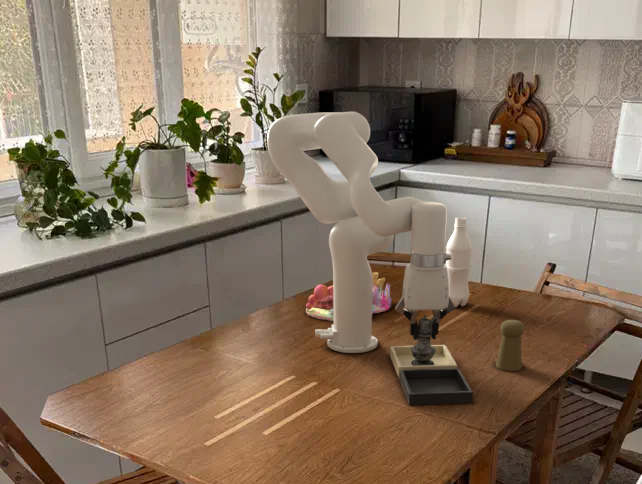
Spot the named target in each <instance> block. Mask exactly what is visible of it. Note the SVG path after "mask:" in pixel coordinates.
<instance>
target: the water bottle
mask: <svg viewBox="0 0 642 484" xmlns="http://www.w3.org/2000/svg"><path fill="white" fill-rule="evenodd" d="M454 219H455V221H454V225H453V227H454V229H453V232H452V234H451V236H450V237H449V239H448V241H447V244H446V245H445V250H446V251H445V253H447V254H451V260H447V261H446V262H445V264H446V265H447V270H448V280H449V297H450V299H451V301H452V303H453V304H454V306H455V308H457V307H458V306H459V305H460V307H464V306H466V305H467V304H468V301H469V297H470V289H469V276H470V270H471V267H472V265H471V264H472V263H471V260H472V250H473V246H472V242H471V239H470V237H469V235H468V232H467V227H468V225H467V217H463V216H457V217H455V218H454Z"/></svg>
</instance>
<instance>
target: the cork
mask: <svg viewBox="0 0 642 484" xmlns="http://www.w3.org/2000/svg"><path fill="white" fill-rule="evenodd" d="M524 330H525V326H524V324H523V322H521V321H520V320H517V319H506V320H504V321H503V322H502V323H501V324H500V333H501V335H502V336H501V340H500V343H499V348H498V353H497V356H496V362H495V365H494V366H495V368H496V369H499V370H502V371H506V372H516V371H519V370H521V369H522V367H523V365H522V363H523V362H522V361H523V360H522V340H521V339H522V338H521V337H522V335H523V334H524Z"/></svg>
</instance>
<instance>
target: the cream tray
mask: <svg viewBox="0 0 642 484" xmlns="http://www.w3.org/2000/svg"><path fill="white" fill-rule="evenodd" d="M413 346H414V345H393V346H392V345H390V347H389V357H390V359H391V363H392V366H393V367H394V370H395V373H396V375H397V377H398V378H399V374H400V370H415V369H448V368H458V364H457V362H456V361H455V359H454V356H453V355H452V354H451V352H450V350H449V349H448V347H447V346H446V344H431V346H433V347H434V348H435V349H436V351H435V353H434V356H433V358H432V359H430V360H431V361H433V362H434V365H419V366H413V365H412V364H411V362H412V361H413V360H415V358H414V357H413V355H412V351H411V347H413Z"/></svg>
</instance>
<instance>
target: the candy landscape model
mask: <svg viewBox="0 0 642 484" xmlns="http://www.w3.org/2000/svg"><path fill="white" fill-rule="evenodd" d="M385 281H386V277H381V278H379V272H376V271H373V272H372V315H374V314H379V313H381V312H386V311H388V310H389V309H391V307H392V297H391V296H390V295H391V284H390V283H389V284H388V283H386V285H385V288H384V284H385ZM383 288H384V290H383ZM305 307H306V309H305V313H306V314H307V316H310V317H312V318H315V319H319V320H326V321H329V322H330V321H331V322H332V321H333V322H334V308H333V284H332V285H330V286H328V287H327V286H326V285H325V284H318V285H316V287H315V288H314V290H313V294H311V295H309V297H308V302H307V303H306V304H305Z"/></svg>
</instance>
